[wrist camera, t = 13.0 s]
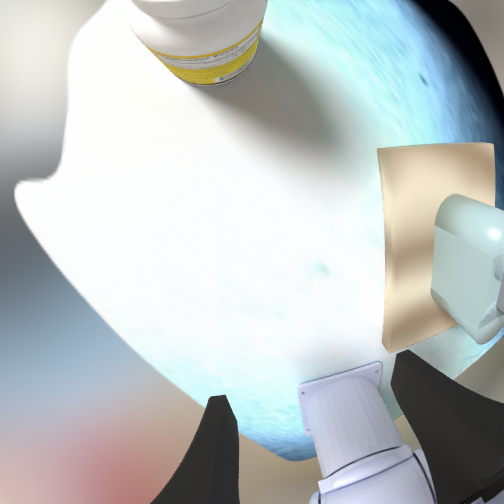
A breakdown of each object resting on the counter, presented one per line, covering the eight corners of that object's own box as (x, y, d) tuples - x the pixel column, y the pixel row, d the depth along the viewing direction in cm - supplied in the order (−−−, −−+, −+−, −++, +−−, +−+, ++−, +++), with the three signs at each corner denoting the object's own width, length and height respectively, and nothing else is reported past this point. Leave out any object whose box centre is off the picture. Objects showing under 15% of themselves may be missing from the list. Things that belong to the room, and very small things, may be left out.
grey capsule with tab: (461, 294, 19) (515, 343, 12) (427, 308, 19) (481, 367, 12) (471, 190, 16) (547, 221, 9) (434, 197, 16) (518, 232, 9)
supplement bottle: (177, 10, 12) (133, -83, 3) (263, 20, 13) (294, -80, 3) (155, 84, 14) (73, 29, 5) (245, 95, 14) (262, 32, 5)
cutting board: (470, 306, 22) (478, 314, 20) (382, 343, 22) (388, 353, 20) (481, 142, 16) (493, 143, 14) (377, 148, 16) (388, 149, 15)
